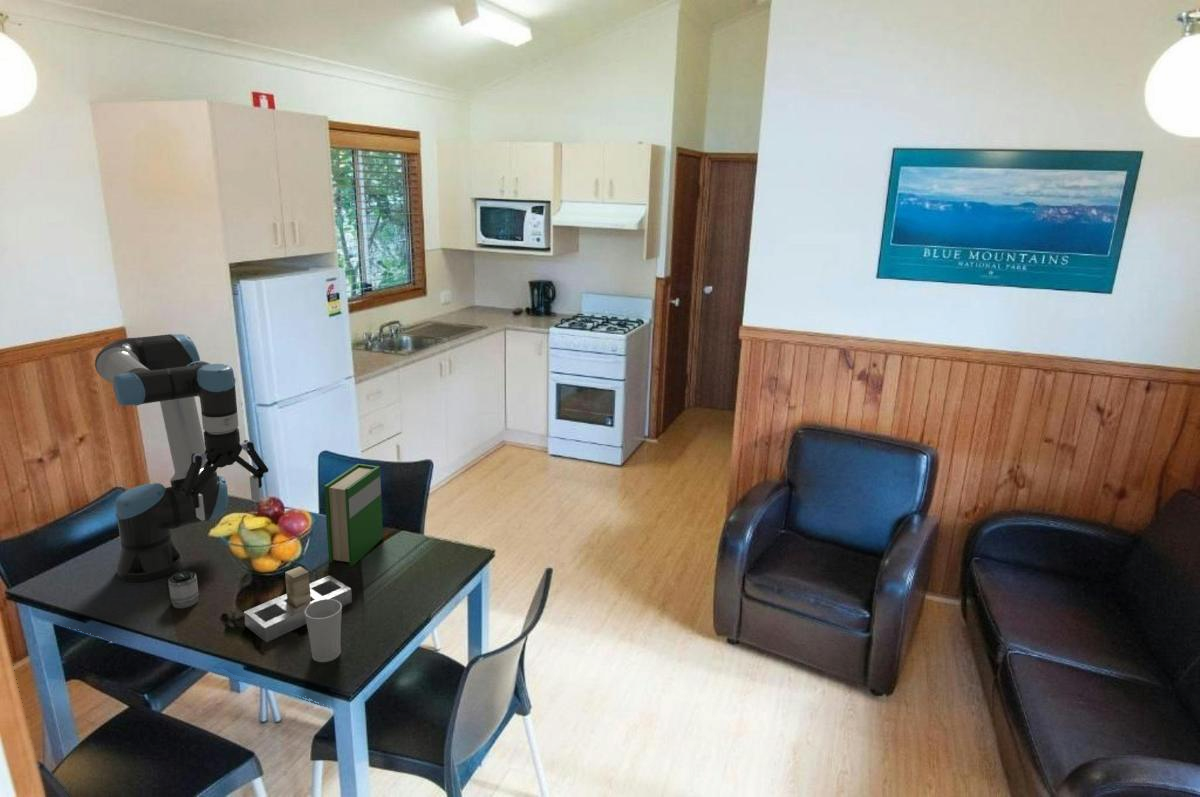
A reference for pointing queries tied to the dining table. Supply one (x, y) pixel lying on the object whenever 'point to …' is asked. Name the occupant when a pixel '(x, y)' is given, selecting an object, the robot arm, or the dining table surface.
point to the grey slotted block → (292, 609)
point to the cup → (324, 629)
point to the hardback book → (353, 513)
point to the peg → (297, 587)
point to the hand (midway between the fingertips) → (229, 509)
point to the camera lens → (183, 589)
